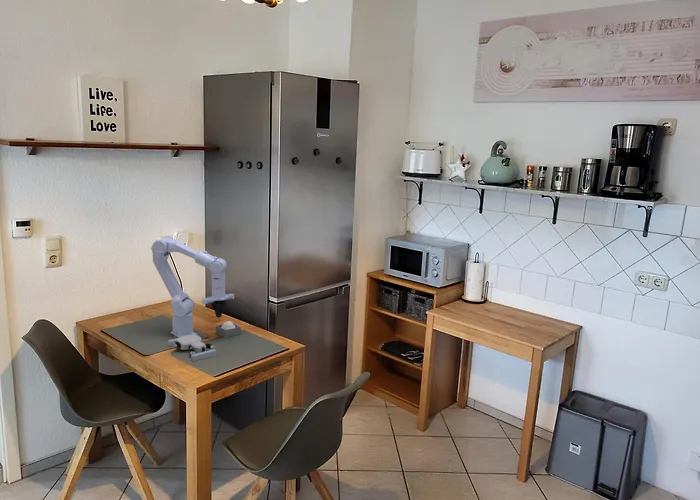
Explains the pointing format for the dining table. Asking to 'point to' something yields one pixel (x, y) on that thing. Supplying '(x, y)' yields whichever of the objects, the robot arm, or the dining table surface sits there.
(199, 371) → the dining table surface
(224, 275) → the robot arm
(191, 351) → the robot toy
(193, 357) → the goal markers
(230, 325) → the dome button
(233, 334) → the dome collar
